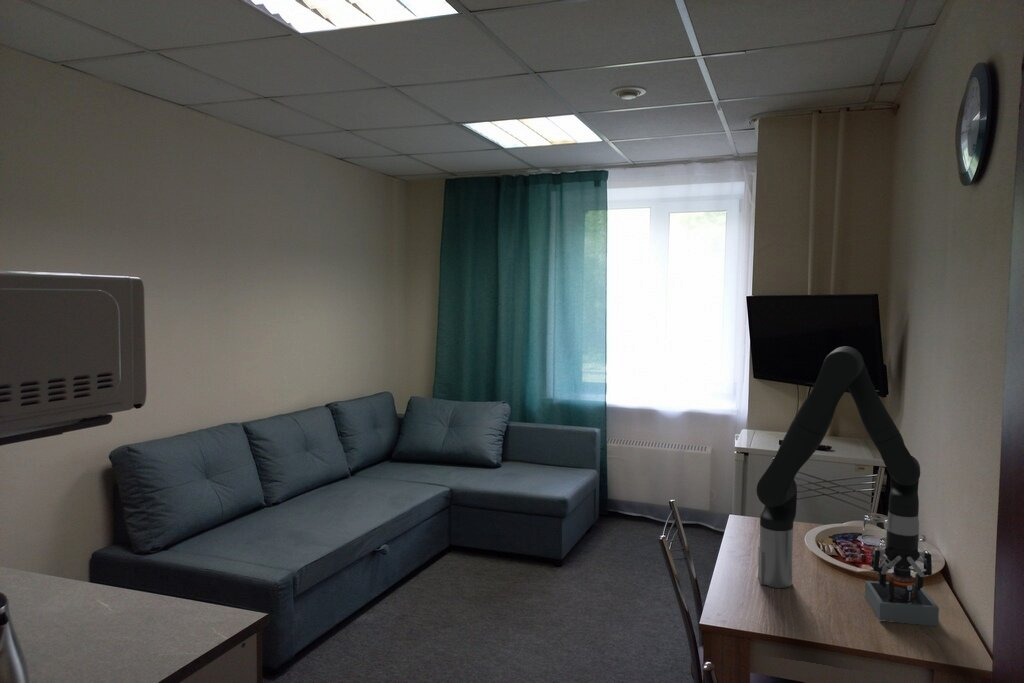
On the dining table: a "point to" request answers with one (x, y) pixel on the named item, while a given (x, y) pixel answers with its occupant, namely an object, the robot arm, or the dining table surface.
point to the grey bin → (901, 606)
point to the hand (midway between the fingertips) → (900, 587)
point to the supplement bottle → (901, 586)
